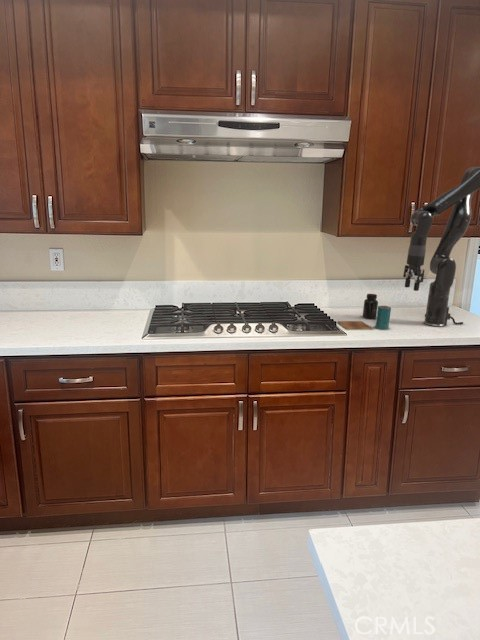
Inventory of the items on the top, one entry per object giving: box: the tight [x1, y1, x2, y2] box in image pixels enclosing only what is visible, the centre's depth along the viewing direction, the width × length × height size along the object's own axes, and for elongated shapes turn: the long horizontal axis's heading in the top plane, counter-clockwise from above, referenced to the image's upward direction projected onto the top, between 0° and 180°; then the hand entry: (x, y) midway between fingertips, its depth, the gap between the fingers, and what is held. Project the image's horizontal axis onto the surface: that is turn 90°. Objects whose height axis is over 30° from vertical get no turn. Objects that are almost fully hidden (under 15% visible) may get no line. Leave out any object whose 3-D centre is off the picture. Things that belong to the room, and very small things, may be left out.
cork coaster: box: [337, 320, 373, 330], centre depth 219 cm, size 12×12×1 cm
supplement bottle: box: [362, 293, 379, 320], centre depth 234 cm, size 7×7×12 cm
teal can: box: [375, 305, 392, 331], centre depth 216 cm, size 6×6×10 cm
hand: (411, 288), depth 220 cm, fingers open, 8 cm apart
